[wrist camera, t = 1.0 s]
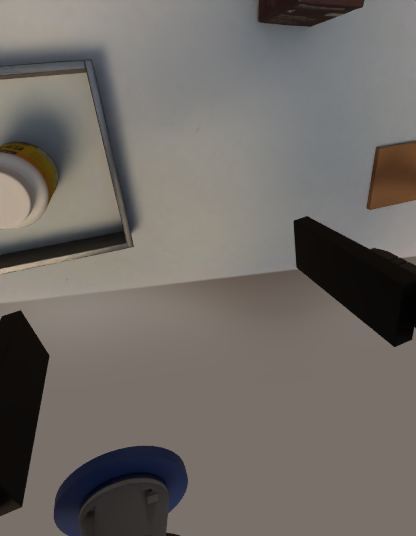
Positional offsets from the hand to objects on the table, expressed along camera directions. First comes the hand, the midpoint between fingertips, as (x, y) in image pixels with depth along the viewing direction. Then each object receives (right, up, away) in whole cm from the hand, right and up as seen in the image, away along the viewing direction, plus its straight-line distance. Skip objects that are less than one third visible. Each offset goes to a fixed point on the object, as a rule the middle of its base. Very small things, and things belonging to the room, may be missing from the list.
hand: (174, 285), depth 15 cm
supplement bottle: (-16, +10, +15) cm, 24 cm away
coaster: (+27, +13, +28) cm, 41 cm away
